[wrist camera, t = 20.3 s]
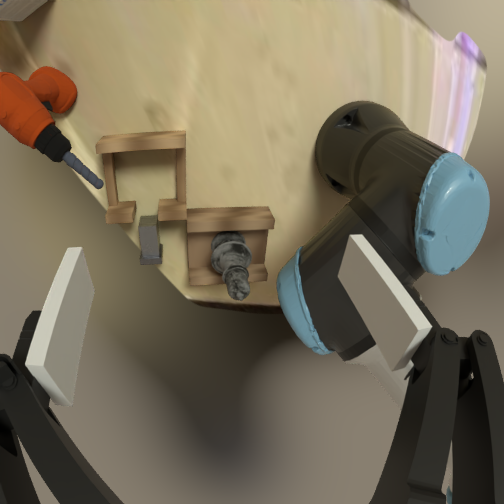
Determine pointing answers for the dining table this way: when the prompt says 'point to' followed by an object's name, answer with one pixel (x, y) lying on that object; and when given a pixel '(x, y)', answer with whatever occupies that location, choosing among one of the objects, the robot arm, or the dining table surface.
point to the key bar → (150, 240)
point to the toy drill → (41, 114)
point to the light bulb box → (18, 9)
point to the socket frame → (144, 141)
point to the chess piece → (232, 262)
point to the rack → (226, 219)
